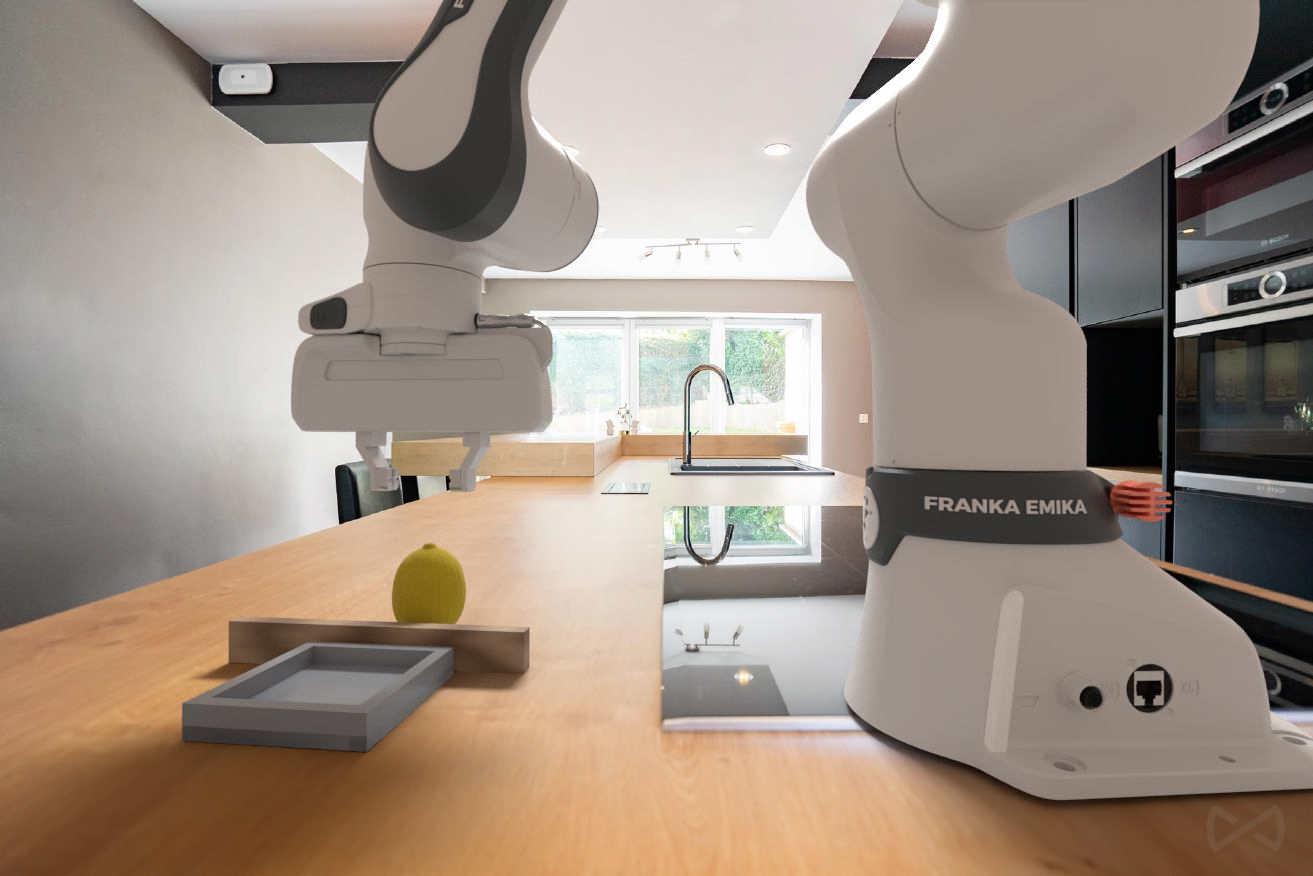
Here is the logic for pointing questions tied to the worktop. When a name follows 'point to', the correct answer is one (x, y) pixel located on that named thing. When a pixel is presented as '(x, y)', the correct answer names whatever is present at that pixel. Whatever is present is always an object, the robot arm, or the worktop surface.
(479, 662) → the rail
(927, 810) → the worktop surface
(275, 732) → the dish
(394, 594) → the lemon
